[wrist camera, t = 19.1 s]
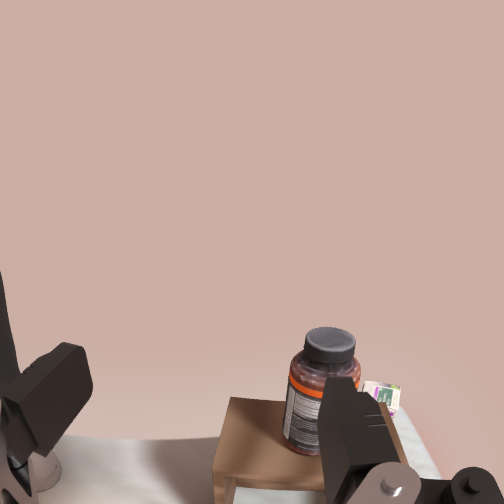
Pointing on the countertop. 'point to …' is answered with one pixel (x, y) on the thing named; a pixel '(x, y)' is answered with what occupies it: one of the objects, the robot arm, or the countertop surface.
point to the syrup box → (384, 395)
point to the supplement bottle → (315, 384)
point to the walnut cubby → (267, 452)
